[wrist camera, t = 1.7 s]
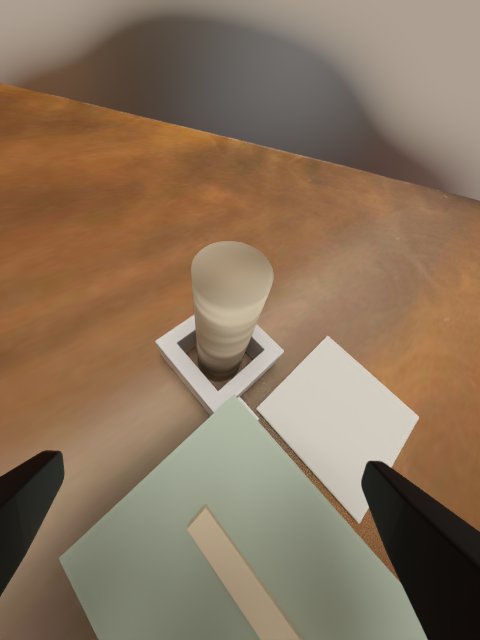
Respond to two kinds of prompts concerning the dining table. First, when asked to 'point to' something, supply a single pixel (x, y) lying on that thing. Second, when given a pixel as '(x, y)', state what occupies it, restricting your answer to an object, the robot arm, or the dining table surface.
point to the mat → (338, 421)
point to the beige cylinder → (227, 304)
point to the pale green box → (232, 537)
